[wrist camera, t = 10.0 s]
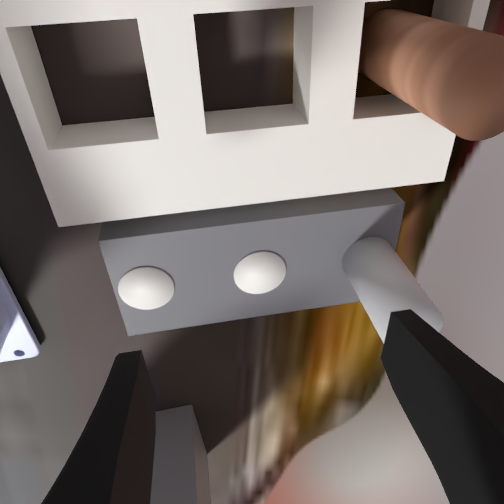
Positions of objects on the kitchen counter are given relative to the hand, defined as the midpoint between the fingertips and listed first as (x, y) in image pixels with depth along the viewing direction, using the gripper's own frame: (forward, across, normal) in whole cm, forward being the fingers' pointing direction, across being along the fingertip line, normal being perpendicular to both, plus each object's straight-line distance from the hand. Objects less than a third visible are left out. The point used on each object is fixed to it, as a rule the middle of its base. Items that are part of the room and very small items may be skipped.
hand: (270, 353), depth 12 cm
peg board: (+9, -1, -6) cm, 11 cm away
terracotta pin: (+9, -7, -6) cm, 13 cm away
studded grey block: (+9, -1, +4) cm, 10 cm away
